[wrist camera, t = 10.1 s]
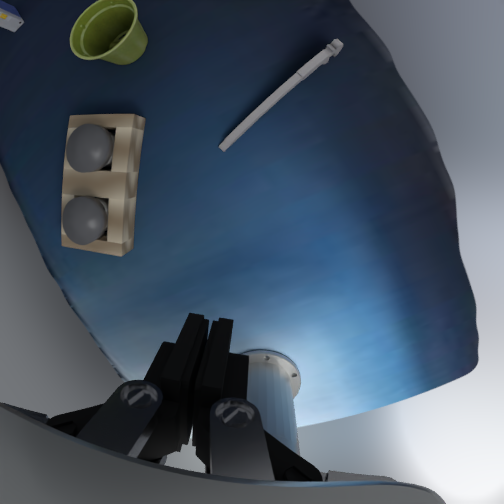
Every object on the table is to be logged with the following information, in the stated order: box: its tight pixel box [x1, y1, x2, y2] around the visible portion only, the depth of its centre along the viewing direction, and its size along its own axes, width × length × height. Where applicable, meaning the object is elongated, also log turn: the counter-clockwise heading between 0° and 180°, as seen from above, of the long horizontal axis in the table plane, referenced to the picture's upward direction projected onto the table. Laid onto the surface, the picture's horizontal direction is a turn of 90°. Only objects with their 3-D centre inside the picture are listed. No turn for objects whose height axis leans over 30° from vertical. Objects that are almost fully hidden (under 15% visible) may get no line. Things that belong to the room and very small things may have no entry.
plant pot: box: [70, 0, 148, 65], centre depth 29 cm, size 9×9×9 cm
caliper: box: [219, 39, 343, 152], centre depth 32 cm, size 20×1×6 cm, turn 134°
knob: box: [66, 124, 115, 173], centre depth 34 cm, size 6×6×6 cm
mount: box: [62, 114, 146, 256], centre depth 36 cm, size 18×10×4 cm, turn 172°
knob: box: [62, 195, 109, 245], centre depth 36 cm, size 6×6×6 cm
